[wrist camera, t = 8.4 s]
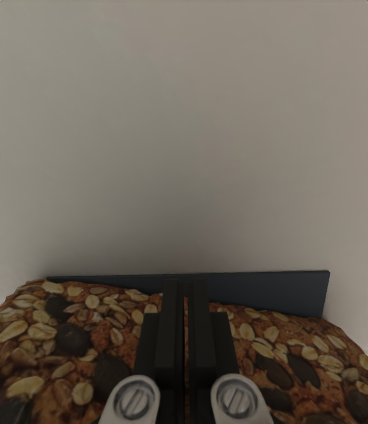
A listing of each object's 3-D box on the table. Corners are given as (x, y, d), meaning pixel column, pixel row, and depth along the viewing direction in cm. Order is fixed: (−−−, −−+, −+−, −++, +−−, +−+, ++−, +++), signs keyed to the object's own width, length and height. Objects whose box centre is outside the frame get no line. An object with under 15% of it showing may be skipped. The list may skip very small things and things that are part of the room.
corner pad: (47, 276, 15) (45, 278, 15) (328, 270, 15) (330, 272, 15) (81, 415, 20) (80, 418, 19) (301, 412, 19) (302, 415, 19)
